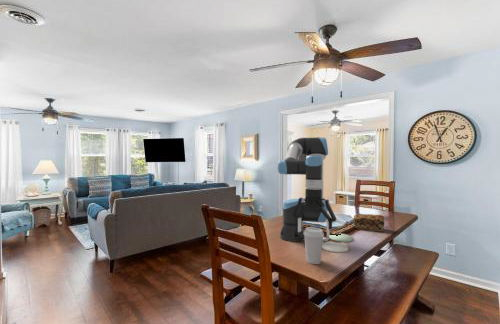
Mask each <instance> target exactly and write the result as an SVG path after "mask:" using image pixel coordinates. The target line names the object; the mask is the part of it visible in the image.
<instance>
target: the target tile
mask: <svg viewBox="0 0 500 324" xmlns="http://www.w3.org/2000/svg"><path fill="white" fill-rule="evenodd" d="M330 240H331V239H330V238H329V237H327V236H326V237H325V236H323V241H322V243H325V242H330Z"/></svg>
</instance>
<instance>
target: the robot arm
mask: <svg viewBox="0 0 500 324" xmlns="http://www.w3.org/2000/svg"><path fill="white" fill-rule="evenodd" d="M286 149H287V152H286V155H285V157H284V159H279V160H278V162H277V172H278V174H280V175H285V176H286V175H301V176H302V175H305V188H306V189H305V198H303V197H299V198H290V199H287V200H284V201H283V204H282V225H281V229H280V232H279V237H280V239H282V240H284V241H289V242H301V241H305V237H304V234H303V232H304V231H305V228H304V227H303V222H310V223H325V222H326V221H327V222H326V237H327V238H329V235H330V234H331V233H330V232H331V231H330V230H331V229H333V222H336V220H337V217H336V215H335V213H334V211H333V209H332V206H331V204H330V200H329V199H326V197H324V161H325V159H326V156H328V155H329V149H328V142H327V139H326V137H320V136H318V137H299V138H297V139H294V140H293V141H292V142H290V143H289V144H288V146H287V148H286ZM300 156H306V157H305V159H300Z"/></svg>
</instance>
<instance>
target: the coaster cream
mask: <svg viewBox="0 0 500 324" xmlns="http://www.w3.org/2000/svg"><path fill="white" fill-rule="evenodd" d="M322 250H324V251H326V252H330V253H339V254H341V253H342V254H343V253H346V252H349V246H348V245H347V244H345V243H343V242H337V241H328V242H322Z"/></svg>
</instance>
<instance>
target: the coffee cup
mask: <svg viewBox="0 0 500 324" xmlns="http://www.w3.org/2000/svg"><path fill="white" fill-rule="evenodd" d="M303 234H304V237H305V239H304V245H305V246H304V247H305V249H304V250H305V259H306V263H308V264H312V265H318V264H321V262H322V252H323V251H322V250H323V248H322V243H323V242H322V241H323V237H325V233H324V231H323V229H322V228H319V227H314V226H313V227H312V226H311V227H306V228H304V232H303Z"/></svg>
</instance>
